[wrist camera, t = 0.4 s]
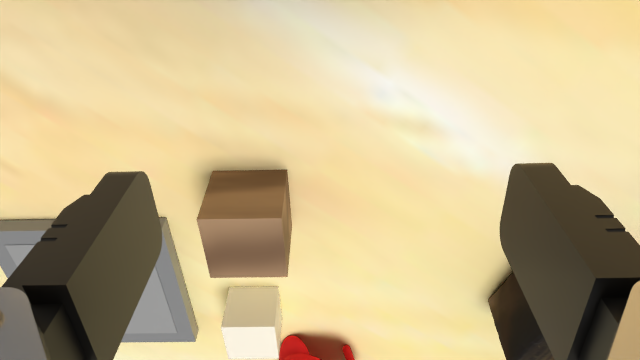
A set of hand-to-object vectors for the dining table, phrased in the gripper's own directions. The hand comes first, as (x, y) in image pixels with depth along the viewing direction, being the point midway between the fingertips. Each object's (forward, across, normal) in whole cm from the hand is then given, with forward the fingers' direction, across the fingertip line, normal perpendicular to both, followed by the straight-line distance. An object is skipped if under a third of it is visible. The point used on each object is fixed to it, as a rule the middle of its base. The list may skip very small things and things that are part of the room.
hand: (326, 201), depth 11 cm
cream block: (+20, +7, +24) cm, 32 cm away
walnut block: (+19, +6, +13) cm, 24 cm away
